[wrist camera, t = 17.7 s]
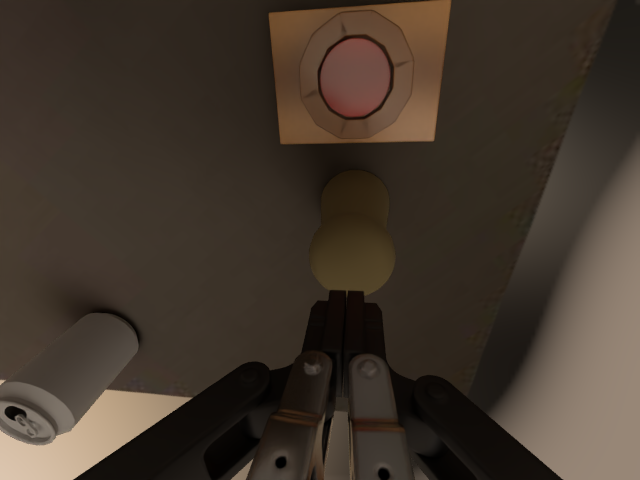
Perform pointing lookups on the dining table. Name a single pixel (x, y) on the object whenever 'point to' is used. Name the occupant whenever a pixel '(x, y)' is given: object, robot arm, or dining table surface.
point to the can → (65, 378)
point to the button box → (402, 54)
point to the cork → (353, 234)
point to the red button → (355, 77)
